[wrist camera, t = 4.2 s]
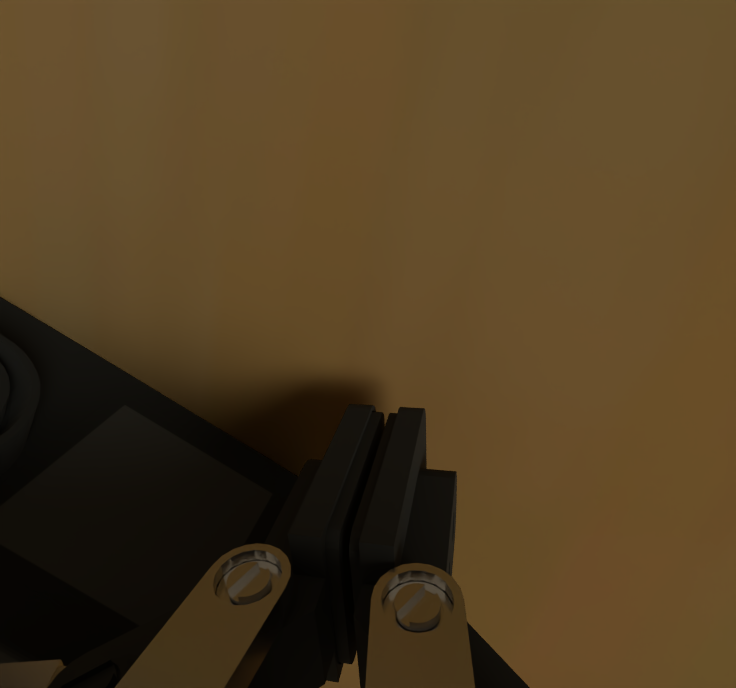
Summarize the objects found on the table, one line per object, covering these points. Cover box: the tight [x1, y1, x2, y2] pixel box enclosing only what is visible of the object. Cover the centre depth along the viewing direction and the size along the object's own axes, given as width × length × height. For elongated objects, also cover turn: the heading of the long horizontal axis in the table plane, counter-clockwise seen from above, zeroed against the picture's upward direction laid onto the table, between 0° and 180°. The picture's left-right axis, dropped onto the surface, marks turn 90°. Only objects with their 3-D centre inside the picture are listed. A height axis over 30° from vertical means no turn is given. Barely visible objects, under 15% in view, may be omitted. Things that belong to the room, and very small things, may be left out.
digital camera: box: [0, 297, 298, 666], centre depth 12 cm, size 10×5×7 cm, turn 60°
